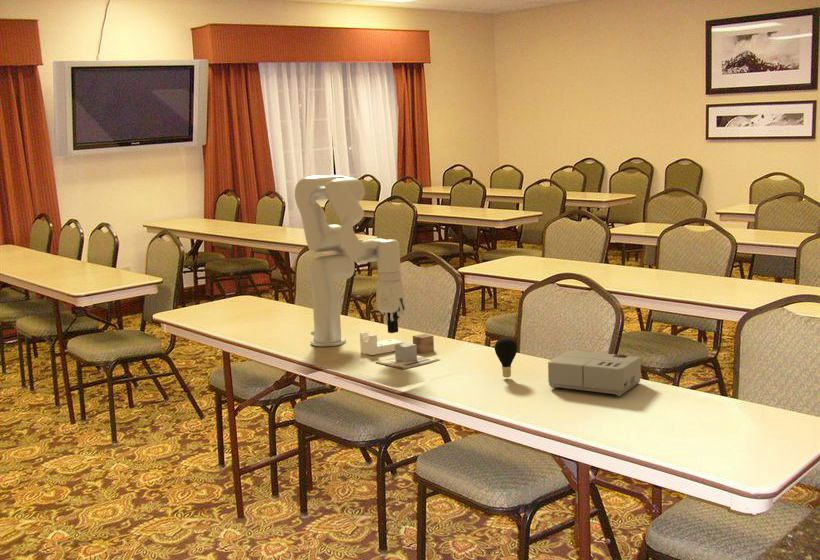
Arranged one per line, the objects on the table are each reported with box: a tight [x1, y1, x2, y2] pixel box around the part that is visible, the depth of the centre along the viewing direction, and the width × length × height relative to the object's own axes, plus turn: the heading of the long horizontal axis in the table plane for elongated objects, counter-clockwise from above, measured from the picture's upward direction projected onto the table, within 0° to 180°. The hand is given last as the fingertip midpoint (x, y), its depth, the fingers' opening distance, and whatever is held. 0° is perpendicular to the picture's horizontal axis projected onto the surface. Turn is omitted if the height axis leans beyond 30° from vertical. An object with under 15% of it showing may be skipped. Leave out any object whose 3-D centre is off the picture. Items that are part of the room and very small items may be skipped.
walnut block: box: [412, 333, 435, 355], centre depth 294 cm, size 5×5×6 cm
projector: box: [547, 350, 642, 397], centre depth 245 cm, size 17×22×8 cm
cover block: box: [394, 342, 418, 362], centre depth 282 cm, size 5×5×5 cm
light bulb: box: [494, 336, 518, 378], centre depth 256 cm, size 7×7×12 cm
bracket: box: [359, 331, 404, 356], centre depth 297 cm, size 13×7×8 cm, turn 123°
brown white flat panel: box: [375, 354, 441, 371], centre depth 282 cm, size 14×16×1 cm
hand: (393, 332), depth 286 cm, fingers closed
